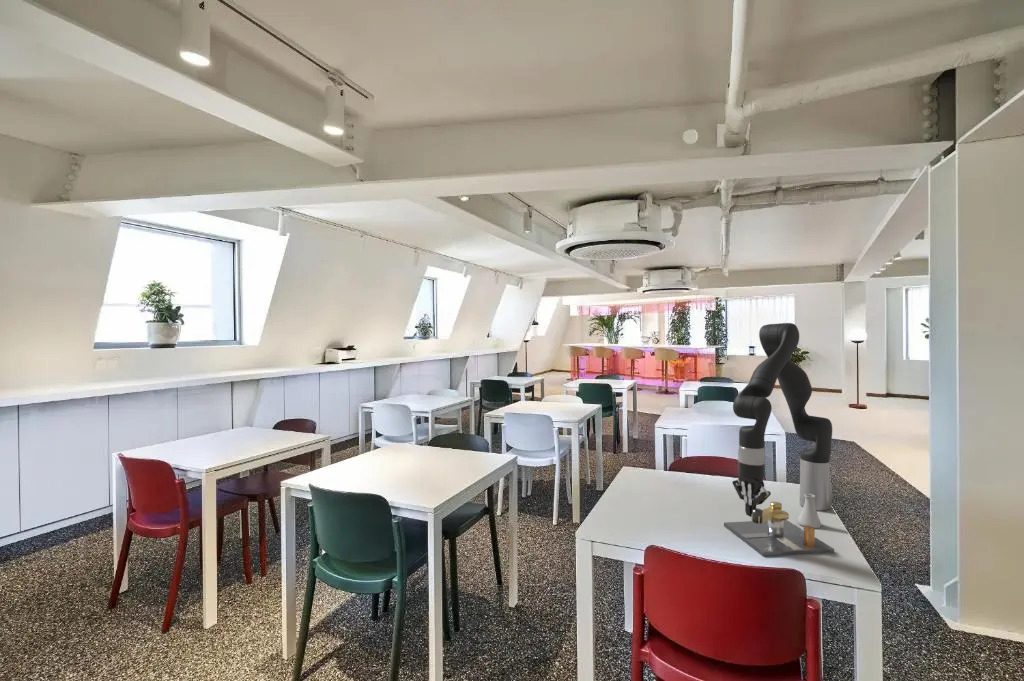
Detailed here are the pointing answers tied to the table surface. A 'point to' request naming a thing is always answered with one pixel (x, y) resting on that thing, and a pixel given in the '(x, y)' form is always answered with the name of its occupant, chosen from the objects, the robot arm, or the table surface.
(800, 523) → the flask
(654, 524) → the table surface
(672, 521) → the table surface
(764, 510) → the brass lever handle
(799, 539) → the lock base
